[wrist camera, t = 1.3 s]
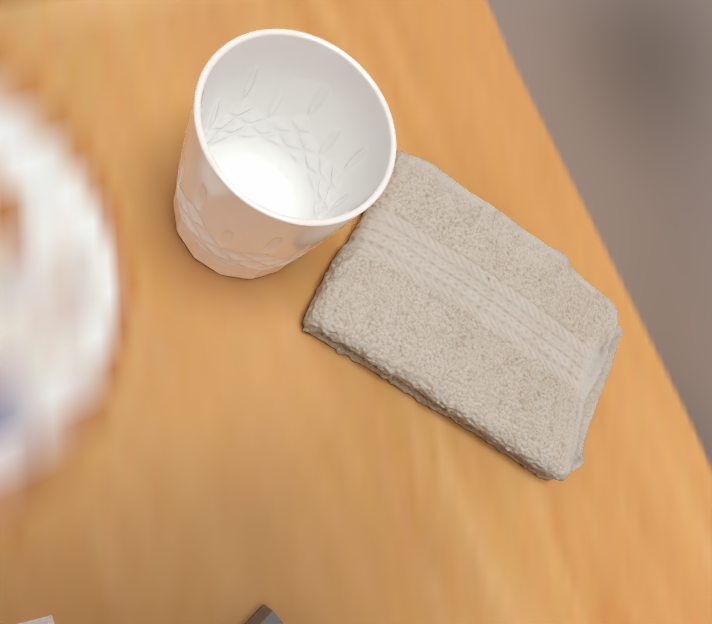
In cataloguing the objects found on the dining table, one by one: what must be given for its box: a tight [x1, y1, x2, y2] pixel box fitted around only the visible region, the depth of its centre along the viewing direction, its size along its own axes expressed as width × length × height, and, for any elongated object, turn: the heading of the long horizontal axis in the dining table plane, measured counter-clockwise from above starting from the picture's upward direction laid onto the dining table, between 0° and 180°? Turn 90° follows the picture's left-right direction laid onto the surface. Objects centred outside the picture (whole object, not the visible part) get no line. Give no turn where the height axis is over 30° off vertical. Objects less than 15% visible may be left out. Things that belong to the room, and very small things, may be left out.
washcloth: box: [302, 151, 623, 481], centre depth 36 cm, size 12×18×3 cm, turn 63°
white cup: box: [173, 29, 396, 279], centre depth 29 cm, size 8×8×10 cm
